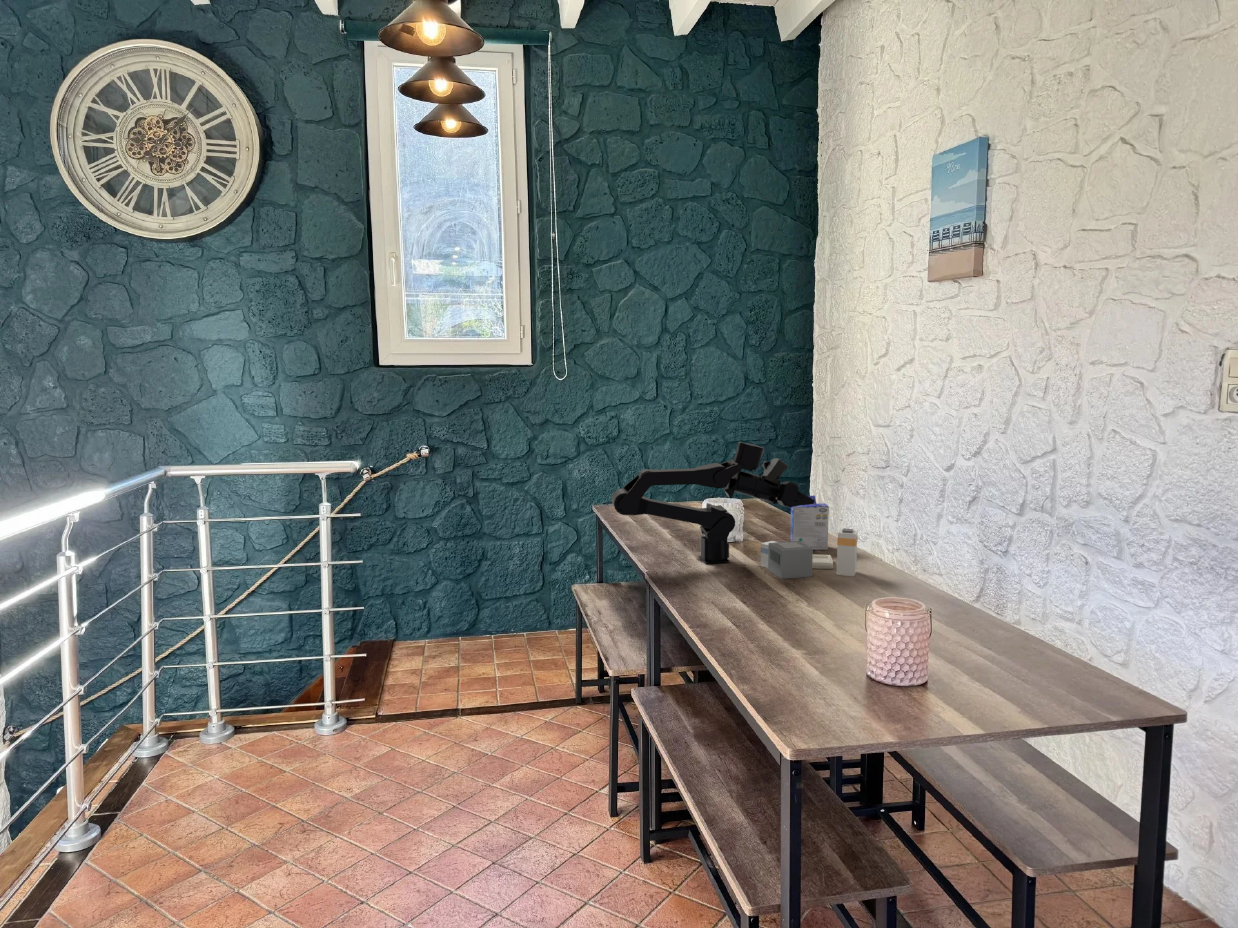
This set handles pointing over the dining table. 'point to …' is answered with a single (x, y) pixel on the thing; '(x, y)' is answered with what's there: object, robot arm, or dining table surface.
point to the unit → (790, 559)
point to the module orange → (847, 552)
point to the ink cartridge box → (810, 525)
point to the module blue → (765, 553)
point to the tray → (822, 561)
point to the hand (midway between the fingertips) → (807, 500)
